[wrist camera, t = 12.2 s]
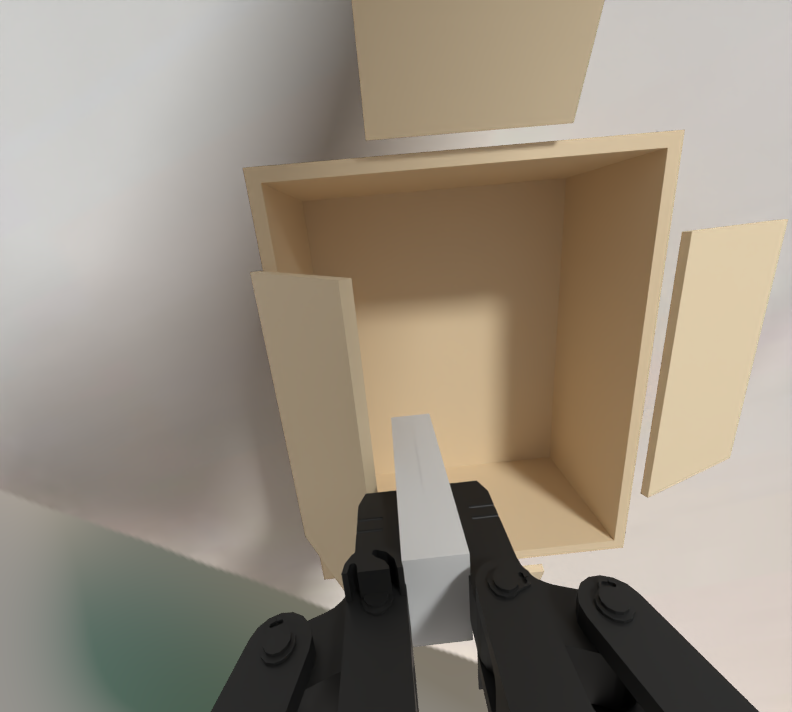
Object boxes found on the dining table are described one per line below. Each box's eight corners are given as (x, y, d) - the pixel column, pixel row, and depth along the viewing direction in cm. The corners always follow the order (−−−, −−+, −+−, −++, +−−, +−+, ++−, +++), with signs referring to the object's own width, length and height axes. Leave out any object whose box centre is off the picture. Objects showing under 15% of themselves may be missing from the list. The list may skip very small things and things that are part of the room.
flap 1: (259, 271, 15) (249, 272, 15) (351, 277, 10) (338, 280, 9) (312, 532, 20) (305, 536, 20) (396, 644, 14) (388, 651, 14)
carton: (292, 192, 23) (242, 167, 15) (572, 167, 23) (684, 129, 15) (339, 481, 30) (324, 579, 22) (554, 459, 30) (623, 547, 22)
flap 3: (787, 219, 18) (777, 219, 19) (691, 231, 16) (682, 231, 16) (729, 457, 23) (722, 454, 23) (647, 497, 20) (640, 493, 20)
